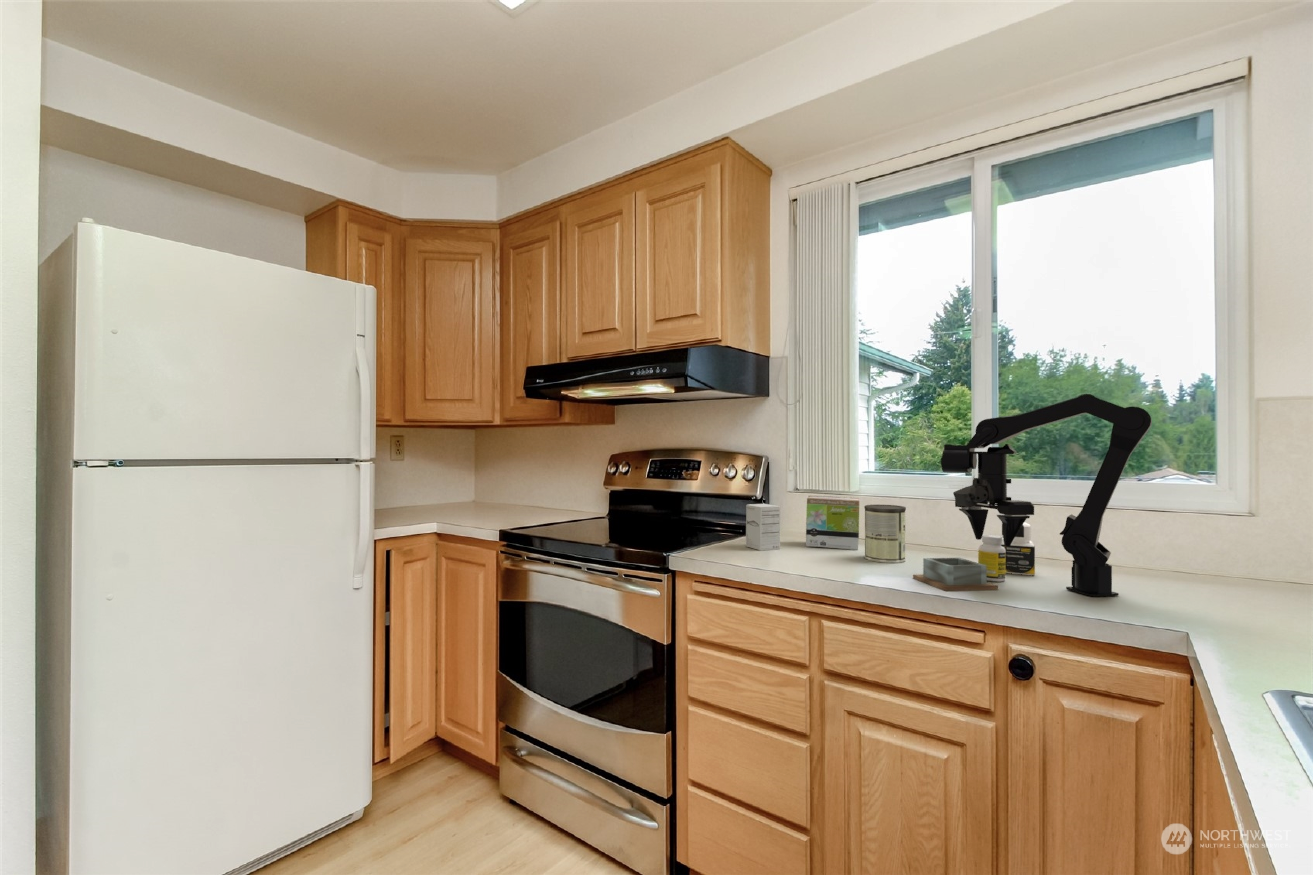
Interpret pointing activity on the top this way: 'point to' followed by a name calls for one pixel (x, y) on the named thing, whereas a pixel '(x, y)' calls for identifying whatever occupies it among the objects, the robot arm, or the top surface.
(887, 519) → the coffee can
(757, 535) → the supplement box
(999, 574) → the supplement bottle
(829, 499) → the tea box
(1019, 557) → the medicine bottle
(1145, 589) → the top surface
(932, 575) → the socket board
